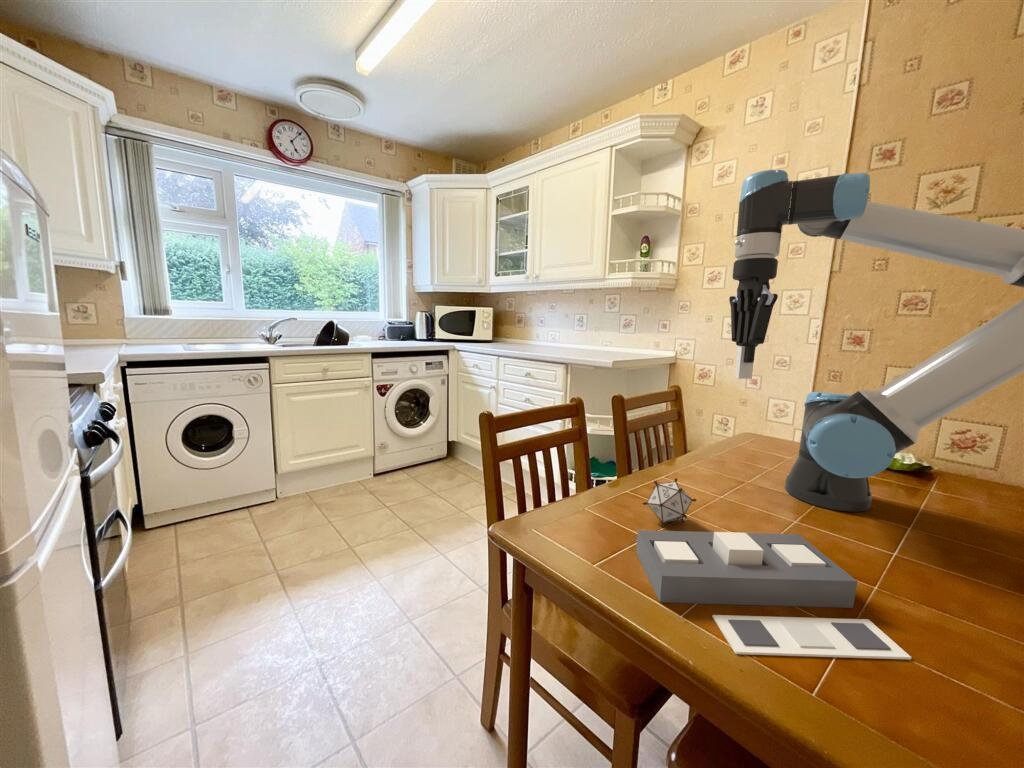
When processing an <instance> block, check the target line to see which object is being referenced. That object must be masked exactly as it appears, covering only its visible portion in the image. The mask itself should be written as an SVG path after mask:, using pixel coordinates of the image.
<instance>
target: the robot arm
mask: <svg viewBox="0 0 1024 768" xmlns="http://www.w3.org/2000/svg"><path fill="white" fill-rule="evenodd" d="M788 177H789V175H788V172H787V171H785V170H783V169H773V170H772V169H768V170H759V171H757V172H754V173H751V174H750V175H748V176H747V177H746V178H745V179H744V180H743V182H742V185H741V192H740V198H739V202H738V203H739V204H738V216H737V226H736V227H737V230H736V240H735V242H734V246H735V249H734V251H735V252H734V258H735V259H736V260H735V261H734V262H733V268H732V279H733V280H734V281H738V284H737V285H738V286H737V289H736V294H735V295H733V296H732V295H730V296H729V299H728V300H729V305H730V320H731V321H730V323H731V325H730V326H731V342H735V345H736V346H737V352H736V362H735V371H734V379H735V378H736V379H739V380H740V379H741V380H742V379H743V380H746V379H748V380H751V379H752V378H753V371H754V363H755V353H756V348H757V347H758V346H759V345H763V344H764V342H765V340H766V335H767V332H768V328H769V325H770V320H771V317H772V313H773V308H774V307H775V304H776V301H777V300H778V296H779V295H778V294H777V293H772V292H771V291H770V289H771V288H770V287H771V285H770V280H774V279H775V278H776V277H777V275H778V273H777V272H778V265H779V260H778V259H777V258H776V257H778V256H780V251H781V240H782V231H783V230H782V228H783V226H785V225H788V226H791V225H797V227H798V228H799V230H800V232H801V233H803V234H804V235H805V236H807V237H811V238H816V237H826V238H831V239H837V240H842V241H846V242H850V243H854V244H859V245H863V246H869V247H871V248H872V247H873V248H877V249H881V250H886V251H889V252H894V253H898V254H902V255H908V256H912V257H917V258H921V259H925V260H930V261H933V262H939V263H943V264H948V265H952V266H956V267H961V268H965V269H969V270H974V271H978V272H982V273H986V274H987V273H988V274H991V275H996V276H1000V278H1001V279H1002V282H1003V283H1004V284H1006V285H1011V286H1015V287H1019V288H1022V289H1023V288H1024V229H1022V228H1018V227H1017V228H1016V227H1011V226H1006V225H1000V224H994V223H989V222H983V221H978V220H972V219H966V218H961V217H956V216H950V215H946V214H945V215H944V214H941V213H939V214H938V213H934V212H928V211H923V210H919V209H918V210H917V209H912V208H908V207H907V208H906V207H903V206H895V205H890V204H886V203H880V202H879V203H878V202H873V201H869V195H870V188H871V176H870V174H868V173H867V172H856V173H855V172H854V173H847V172H845V173H841V174H838V175H836V174H835V175H829V176H822V177H815V178H807V179H802V180H800V179H799V180H789V178H788ZM1023 373H1024V299H1022V300H1020V301H1018V302H1017V303H1015V304H1014V305H1012V306H1011V307H1009V308H1007V309H1006V310H1004V311H1003V312H1001V313H1000V314H997V315H996V316H995V317H993V318H991V319H990V320H988V321H987V322H984V324H982V325H980V326H978V327H976V328H975V329H974V330H972V331H970V332H969V333H967V334H966V335H964V336H962V337H960V338H959V339H958V340H956V341H954V342H952V343H951V344H949V345H948V346H946V347H944V348H943V349H941V350H939V351H938V352H936V353H935V354H933V355H931V356H930V357H928V358H927V359H925V360H924V361H922V362H920V363H919V364H917V365H916V366H914V367H912V368H910V369H908V371H906V372H904V373H902V374H901V375H899V376H898V377H896V378H895V379H893V380H891V381H890V382H888V383H886V384H884V385H883V386H881V387H879V388H878V389H876V390H875V389H874V390H870V389H869V390H866V389H858V391H856V392H854V393H853V394H844V393H836V392H835V393H834V392H833V393H832V392H822V391H811V392H809V393H808V394H807V396H806V399H805V402H804V404H803V406H804V412H803V413H804V414H803V421H802V427H801V428H802V429H801V435H800V443H799V450H798V454H797V455H798V456H797V458H796V460H795V462H794V463H793V466H792V467H791V469H790V471H789V473H788V475H787V476H786V478H785V482H784V490H785V491H786V492H787V493H788V494H789V495H790V496H792V497H794V498H796V499H798V500H799V501H802V502H805V503H808V504H811V505H814V506H817V507H820V508H824V509H829V510H834V511H842V512H849V513H850V512H853V513H854V512H857V513H858V512H865V511H868V510H870V509H871V507H872V499H873V496H872V492H871V487H870V483H869V478H870V477H873V476H874V477H875V476H876V475H878V474H881V472H884V471H885V470H886V469H888V467H890V465H891V464H892V462H893V460H894V459H895V456H896V454H898V453H900V452H902V451H904V450H906V449H908V448H910V447H911V446H913V445H915V444H916V443H918V440H919V439H918V438H919V434H920V433H919V432H920V430H921V429H924V428H925V427H927V426H928V425H931V424H933V423H934V422H935V421H937V420H939V419H941V418H943V417H944V416H947V415H949V414H950V413H953V412H954V411H956V410H957V409H959V408H961V407H962V406H964V405H966V404H969V403H970V402H973V401H974V400H976V399H977V398H979V397H981V396H983V395H985V394H986V393H988V392H990V391H992V390H994V389H995V388H998V387H999V386H1000V385H1003V384H1005V383H1007V382H1009V381H1011V380H1012V379H1014V378H1016V377H1017V376H1019V375H1021V374H1023Z"/></svg>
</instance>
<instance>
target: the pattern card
mask: <svg viewBox="0 0 1024 768" xmlns="http://www.w3.org/2000/svg"><path fill="white" fill-rule="evenodd" d="M711 617H712V619H713V621H714V622H715V624H716V625H717V627H718V628H719V629H720V632H721V633H722V635H723V637H724V638H725V640H726V641H727V643H728V644H729V646H730V647H731V650H733V653H734V654H735V655H752V656H754V655H755V656H784V657H785V656H786V657H819V658H845V659H846V658H852V659H879V660H880V659H883V660H890V659H891V660H912V656H911V655H909V653H907V652H906V651H905V650H904V649H903V648H902V647H900V646H899V645H898V644H897V643H896V642H895V641H894V640H893V639H891V638H890V637H889V636H888V635H887V634H886V633H884V631H882V630H881V629H880V628H879V627H878V626H876V625H875V623H873V621H871V620H870V619H866V618H860V619H859V618H836V617H835V618H832V617H829V618H828V617H827V618H826V617H800V616H799V617H796V616H794V617H793V616H767V615H765V616H764V615H730V614H728V615H727V614H726V615H725V614H723V615H722V614H712V616H711Z"/></svg>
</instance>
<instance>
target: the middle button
mask: <svg viewBox="0 0 1024 768" xmlns="http://www.w3.org/2000/svg"><path fill="white" fill-rule="evenodd" d="M713 532H714V538H713V547H712V548H713V549H714V551H715V552H716V553H717V554H718V556H719V557H720V558H721V559H722V560H723V562H724V563H725V564H726V565H758V566H762V559H763V551H764V550H763V549H762V548H761V547H760V546H759V545H758V544H757V543H756V542H755V541H754V540H753V539H752V538H751V537H749V536H748V535H747V534H746V533H747V532H732V531H726V532H725V531H713Z"/></svg>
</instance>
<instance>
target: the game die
mask: <svg viewBox="0 0 1024 768" xmlns="http://www.w3.org/2000/svg"><path fill="white" fill-rule="evenodd" d="M678 480H679V479H678V477H675V478H674V481H669V482H668V481H667V482H663V483H662V482H661V483H660V482H659V483H658V482H657V480H653V484H654V485H655V486H653V487H652V489H653V490H652V491H651V494H649V497H648V499H647V501H646V502H642V505H644V506H645V505H646V506H648V508H649V509H650V510H652V512H653V513H654V514H655V516H656V517H657V518H658V519H659V520H660V521H661V523H660V528H662V527H664V525H665V523H666V524H667V523H670V522H678V521H680V522H681V523H683V524H684V523H685V520H686V519H688V515H686V513H687V512H688V510H689V508H690V506H691V504H692V503H693V502H697V501H698V499H697V498H692V497H691V496H689V494H688V493H687V492H686V491H685V490H684V488H682V487H681V485H680V484H679V483H678Z"/></svg>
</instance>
